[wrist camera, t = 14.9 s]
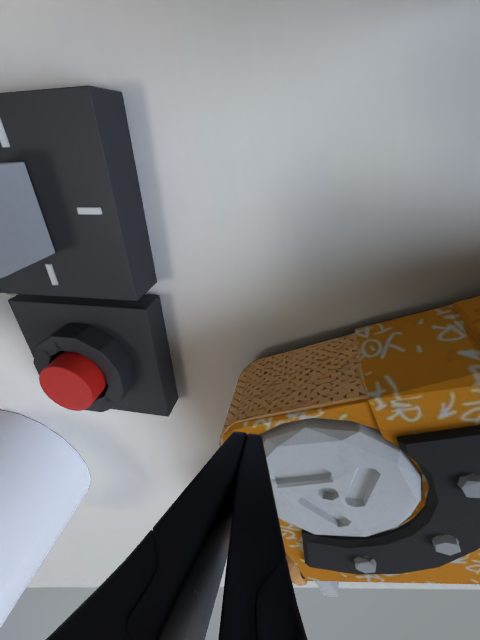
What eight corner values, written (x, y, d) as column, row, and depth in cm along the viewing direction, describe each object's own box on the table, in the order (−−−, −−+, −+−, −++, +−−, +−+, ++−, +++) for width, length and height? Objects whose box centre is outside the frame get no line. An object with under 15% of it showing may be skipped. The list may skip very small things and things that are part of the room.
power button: (48, 349, 23) (30, 364, 22) (98, 354, 22) (82, 370, 21) (66, 391, 25) (50, 407, 24) (112, 396, 24) (98, 414, 23)
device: (765, 660, 17) (255, 621, 28) (634, 505, 24) (268, 524, 35) (928, 297, 8) (102, 452, 20) (649, 221, 15) (158, 368, 27)
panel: (-44, 105, 19) (-102, 100, 17) (122, 91, 17) (86, 84, 14) (25, 275, 25) (-11, 293, 22) (157, 282, 23) (135, 302, 20)
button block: (29, 287, 25) (-15, 311, 22) (159, 295, 23) (132, 323, 20) (68, 384, 30) (37, 416, 27) (178, 398, 28) (159, 434, 25)
